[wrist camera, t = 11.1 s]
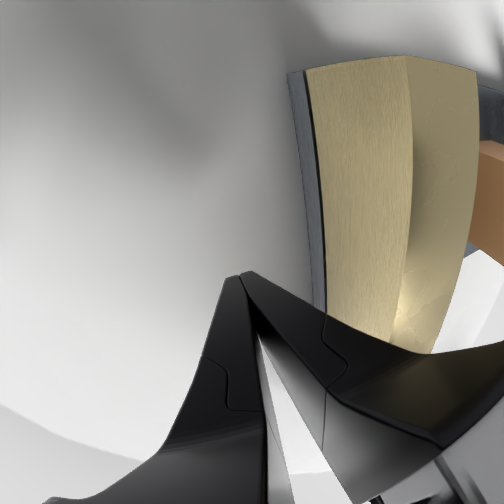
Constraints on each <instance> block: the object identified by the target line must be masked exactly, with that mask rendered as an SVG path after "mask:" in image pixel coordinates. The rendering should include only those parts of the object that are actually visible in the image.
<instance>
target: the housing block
mask: <svg viewBox="0 0 504 504" xmlns="http://www.w3.org/2000/svg"><path fill="white" fill-rule="evenodd" d="M467 241H469V242H470V243H472V244H473V245H475V246H476V247H478V248H479V249H480V250H482V251H483V252H485V253H486V254H488V255H489V256H490V257H492V258H493V259H494V260H496V261H497V262H498V263H500V264H501V265H502V266H504V145H503V144H500V143H497V142H494V141H491V140H487V141H479V158H478V172H477V182H476V191H475V199H474V206H473V212H472V218H471V224H470V229H469V234H468V239H467Z"/></svg>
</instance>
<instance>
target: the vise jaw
mask: <svg viewBox="0 0 504 504" xmlns="http://www.w3.org/2000/svg"><path fill="white" fill-rule="evenodd" d="M306 75H307V80H308V86H309V92H310V99H311V105H312V112H313V119H314V126H315V133H316V141H317V150H318V158H319V168H320V178H321V188H322V200H323V213H324V228H325V245H326V269H327V314H328V315H330V316H332V317H334V318H336V319H337V320H339V321H341V322H343V323H345V324H347V325H349V326H351V327H353V328H355V329H357V330H359V331H362V332H364V333H366V334H369V335H371V336H373V337H376V338H378V339H381V340H383V341H386V342H388V343H391V344H393V345H396V346H398V347H401V348H404V349H406V350H409V351H412V352H416V353H422V354H430V353H431V351H432V349H433V346H434V344H435V341H436V339H437V337H438V334H439V332H440V329H441V327H442V324H443V321H444V319H445V316H446V313H447V310H448V307H449V304H450V302H451V298H452V295H453V292H454V289H455V286H456V282H457V279H458V276H459V272H460V268H461V264H462V261H463V257H464V252H465V248H466V244H467V239H468V234H469V229H470V224H471V218H472V212H473V206H474V199H475V191H476V182H477V172H478V158H479V100H478V86H477V76H476V71H473V70H469V69H466V68H462V67H459V66H455V65H451V64H447V63H443V62H439V61H434V60H429V59H424V58H419V57H413V56H407V55H398V56H387V57H377V58H369V59H361V60H354V61H348V62H342V63H336V64H331V65H326V66H321V67H316V68H311V69H307V70H306Z"/></svg>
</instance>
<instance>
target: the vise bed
mask: <svg viewBox="0 0 504 504" xmlns="http://www.w3.org/2000/svg"><path fill="white" fill-rule="evenodd" d="M287 80H288V85H289V91H290V97H291V103H292V109H293V115H294V121H295V128H296V134H297V141H298V148H299V155H300V163H301V171H302V179H303V187H304V196H305V205H306V214H307V224H308V235H309V246H310V258H311V271H312V286H313V303H314V307H316V308H318V309H319V310H321V311H323V312H325V313H326V315H327V269H326V245H325V228H324V213H323V200H322V188H321V178H320V168H319V158H318V150H317V141H316V133H315V126H314V119H313V112H312V105H311V99H310V92H309V86H308V80H307V75H306V70H305V71H299V72H294V73H290V74H287ZM477 86H478V100H479V141H487V140H491V141H494V142H497V143H500V144H503V145H504V92H501V91H498V90H495V89H491V88H488V87H484V86H480V85H477ZM477 250H479V248H478V247H476V246H475V245H473V244H472V243H470V242H469V241H467V244H466V248H465V252H464V257H463V258H465V257H467V256H468V255H470V254H472V253H474V252H475V251H477Z"/></svg>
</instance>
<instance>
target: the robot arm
mask: <svg viewBox="0 0 504 504" xmlns="http://www.w3.org/2000/svg"><path fill="white" fill-rule="evenodd" d="M259 339H260V341H261V343H262V345H263V347H264V349H265V351H266V353H267V355H268V357H269V359H270V361H271V362H272V364H273V366H274V368H275V370H276V372H277V374H278V375H279V377H280V379H281V381H282V383H283V385H284V386H285V388H286V390H287V392H288V394H289V396H290V397H291V399H292V401H293V403H294V405H295V406H296V408H297V410H298V412H299V413H300V415H301V417H302V419H303V421H304V422H305V424H306V426H307V428H308V429H309V431H310V433H311V435H312V436H313V438H314V440H315V441H316V443H317V445H318V447H319V448H320V450H321V452H322V454H323V455H324V457H325V459H326V460H327V462H328V464H329V465H330V467H331V469H332V470H333V472H334V473H335V475H336V477H337V479H338V480H339V482H340V483H341V485H342V487H343V488H344V490H345V492H346V493H347V495H348V497H349V498H350V500H351V501H352V503H353V504H362V503H364V502H366V501H369V502H371V504H504V340H503V341H501V342H497V343H494V344H488V345H484V346H479V347H474V348H468V349H462V350H456V351H450V352H443V353H436V354H422V353H416V352H412V351H409V350H406V349H404V348H401V347H398V346H396V345H393V344H391V343H388V342H386V341H383V340H381V339H378V338H376V337H373V336H371V335H369V334H366V333H364V332H362V331H359V330H357V329H355V328H353V327H351V326H349V325H347V324H345V323H343V322H341V321H339V320H337V319H336V318H334V317H332V316H330V315H328V314H327V315H326V313H325V312H323V311H321V310H319V309H318V308H316V307H314V306H312V305H311V304H309V303H307V302H305V301H304V300H302V299H300V298H298V297H297V296H295V295H293V294H291V293H290V292H288V291H286V290H284V289H283V288H281V287H279V286H277V285H276V284H274V283H272V282H271V281H269V280H267V279H265V278H264V277H262V276H260V275H259V274H257V273H255V272H253V271H247V272H244V273H241V274H240V275H239V276H238V275H234V276H231V277H228V278H226V279H225V281H224V284H223V287H222V290H221V294H220V297H219V300H218V303H217V306H216V309H215V313H214V316H213V319H212V322H211V325H210V329H209V332H208V335H207V338H206V342H205V345H204V348H203V351H202V356H201V357H200V361H199V364H198V367H197V370H196V373H195V376H194V379H193V382H192V384H191V386H190V389H189V391H188V393H187V396H186V398H185V400H184V402H183V404H182V406H181V409H180V411H179V413H178V415H177V417H176V419H175V422H174V424H173V426H172V428H171V430H170V432H169V434H168V436H167V438H166V440H165V442H164V443H163V445H162V446H161V448H160V449H159V450H158V451H157V452H156V453H155V454H154V455H153V456H152V457H151V458H149V459H148V460H147V461H145V462H144V463H143V464H141V465H140V466H139V467H137V468H136V469H135V470H133V471H132V472H130V473H129V474H127V475H126V476H125V477H123V478H122V479H120V480H119V481H117V482H116V483H114V484H113V485H111V486H110V487H108V488H107V489H105V490H104V491H102V492H100V493H98V494H96V495H94V496H91V497H88V498H84V499H67V498H61V497H51V498H49V499H48V500H47V501H45V502H44V503H42V504H295V502H294V498H293V494H292V489H291V485H290V480H289V476H288V471H287V467H286V462H285V458H284V453H283V449H282V444H281V439H280V435H279V430H278V426H277V421H276V416H275V412H274V407H273V402H272V398H271V393H270V388H269V383H268V379H267V374H266V369H265V364H264V360H263V355H262V350H261V345H260V341H259Z"/></svg>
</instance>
